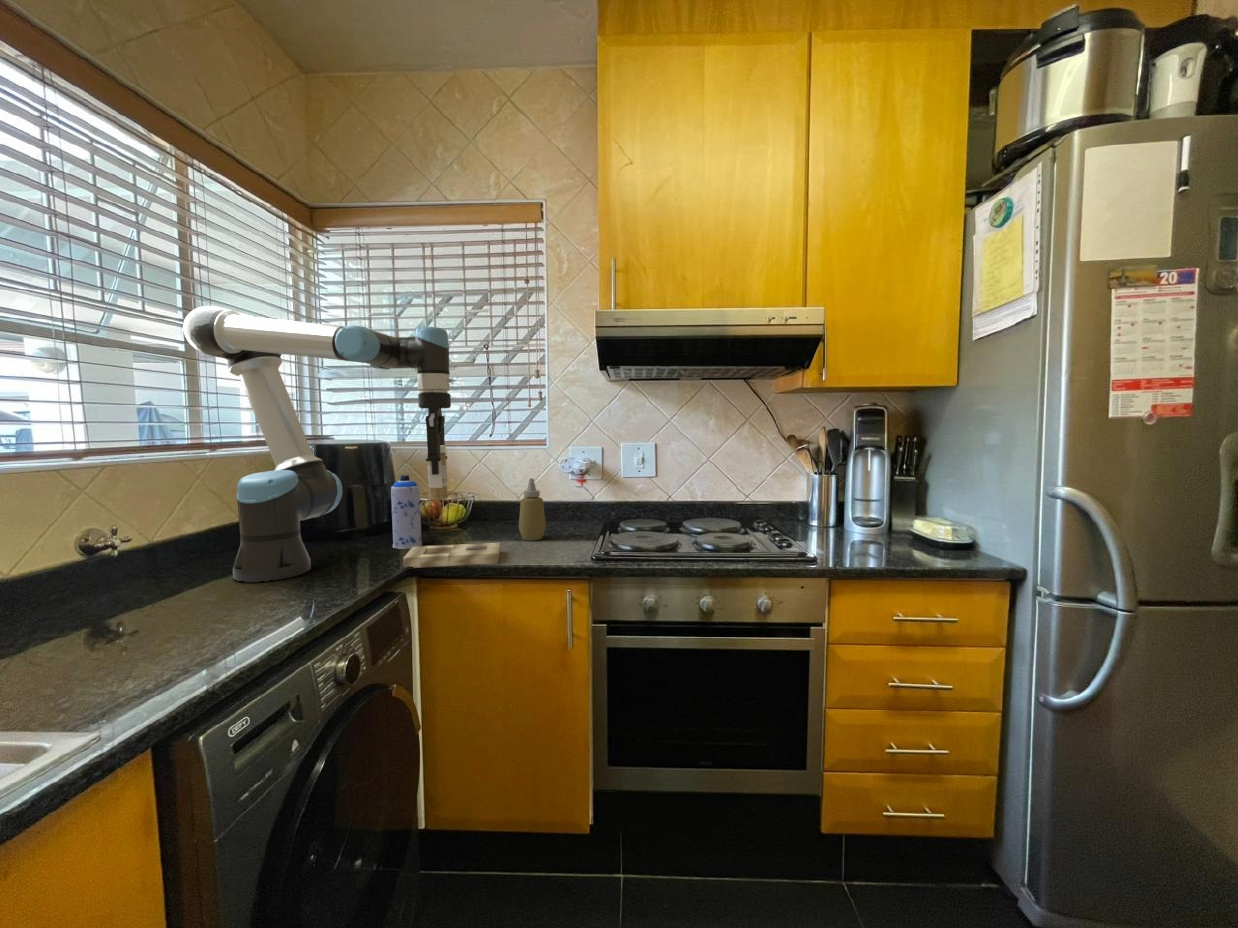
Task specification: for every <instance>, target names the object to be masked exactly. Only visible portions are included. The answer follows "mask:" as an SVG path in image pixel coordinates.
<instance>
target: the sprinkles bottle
mask: <svg viewBox="0 0 1238 928" xmlns="http://www.w3.org/2000/svg"><path fill="white" fill-rule="evenodd" d="M446 454H447V445H440V458H441V460H440V461H441V464H442V488H430V466H429V461H427V473H428V475H427V477H428V490H429V497H428V498H429V500H431V501H441V500H442V501H443V500H447V499H449V496H448V473H447V472H448V470H447V469H448V468H447V459H446V456H447V455H446ZM426 455H427V456H428V451H427V450H426Z"/></svg>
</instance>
